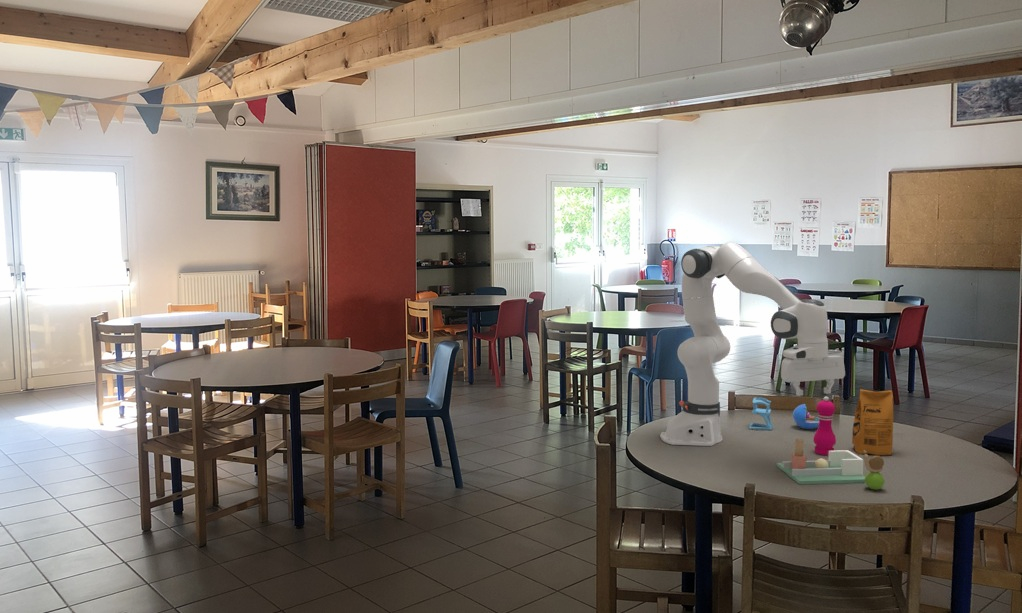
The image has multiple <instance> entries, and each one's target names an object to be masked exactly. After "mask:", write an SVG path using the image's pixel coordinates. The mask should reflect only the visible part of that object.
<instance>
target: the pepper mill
mask: <svg viewBox="0 0 1022 613" xmlns="http://www.w3.org/2000/svg"><path fill="white" fill-rule="evenodd" d="M835 406H836V405H835V404H834V403H833V402H832V401H830V398H829V397H828V396H824V397H823V398H822V400H820V401H819V402H818V403H817V404H816V412H818V413H817V417H818V419H819V427H818V428H816V429H817V430H816V431H815V433H814V435H813V444H815V446H814V453H816V454H818V455H821V456H828V455H829V451H835V448H834V446H835V445H836V442H837V440H836V439H837V438H836V436H835V433H834V430H833V428H832V421H833V419H834V413H836V412H835V411H836V407H835Z"/></svg>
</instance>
